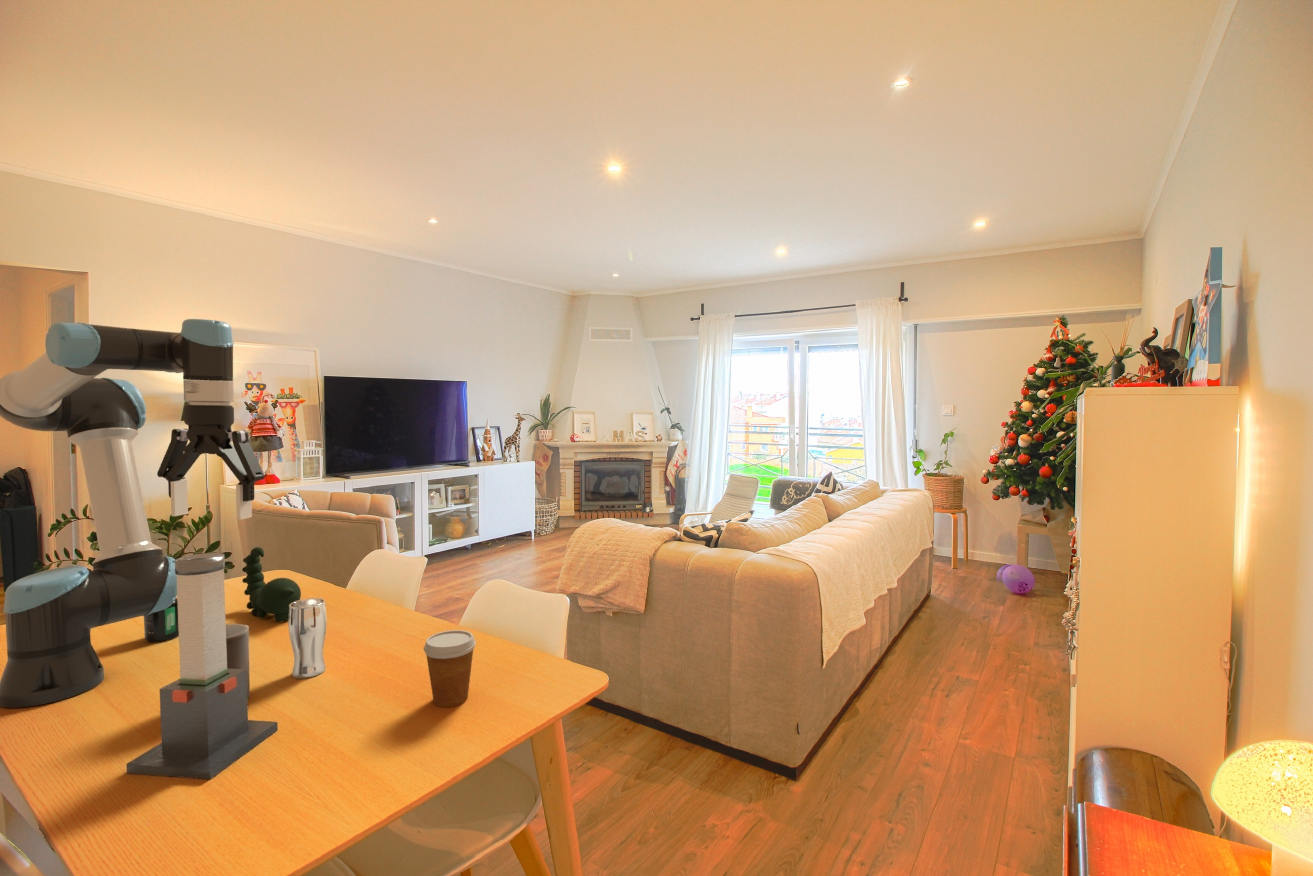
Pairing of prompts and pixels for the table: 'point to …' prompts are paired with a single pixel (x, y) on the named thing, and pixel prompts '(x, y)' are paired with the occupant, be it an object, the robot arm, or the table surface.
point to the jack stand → (203, 729)
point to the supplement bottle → (162, 624)
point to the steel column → (201, 618)
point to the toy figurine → (268, 590)
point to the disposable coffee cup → (450, 666)
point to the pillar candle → (238, 649)
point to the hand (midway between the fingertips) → (211, 516)
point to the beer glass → (307, 636)
